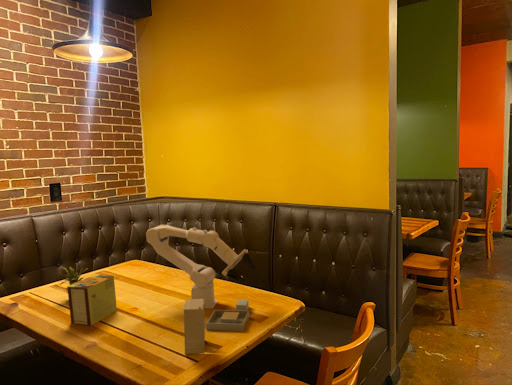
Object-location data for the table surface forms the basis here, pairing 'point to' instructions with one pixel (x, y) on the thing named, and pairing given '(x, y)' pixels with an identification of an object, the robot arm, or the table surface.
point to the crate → (216, 324)
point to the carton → (242, 304)
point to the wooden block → (230, 317)
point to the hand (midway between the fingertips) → (249, 275)
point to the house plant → (72, 276)
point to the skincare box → (194, 326)
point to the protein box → (92, 299)
